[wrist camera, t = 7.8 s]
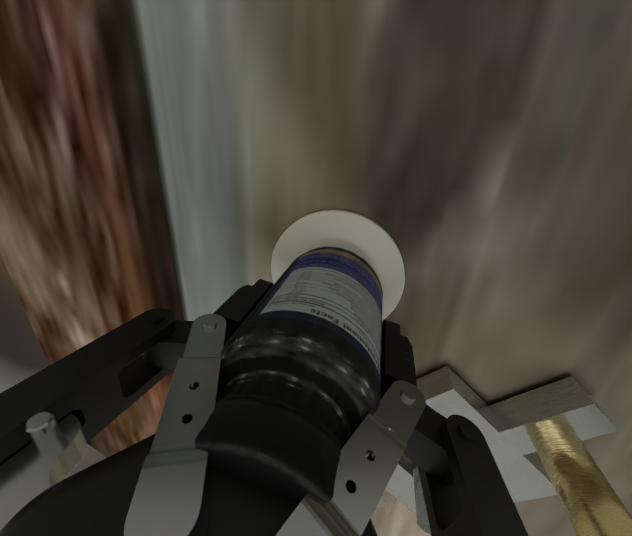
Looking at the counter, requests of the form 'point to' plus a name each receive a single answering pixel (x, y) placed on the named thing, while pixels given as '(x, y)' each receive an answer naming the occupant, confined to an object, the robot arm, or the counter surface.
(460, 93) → the counter surface
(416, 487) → the post
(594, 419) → the grey plate with post
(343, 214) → the coaster
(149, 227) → the counter surface
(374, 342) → the pill bottle
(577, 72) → the counter surface
